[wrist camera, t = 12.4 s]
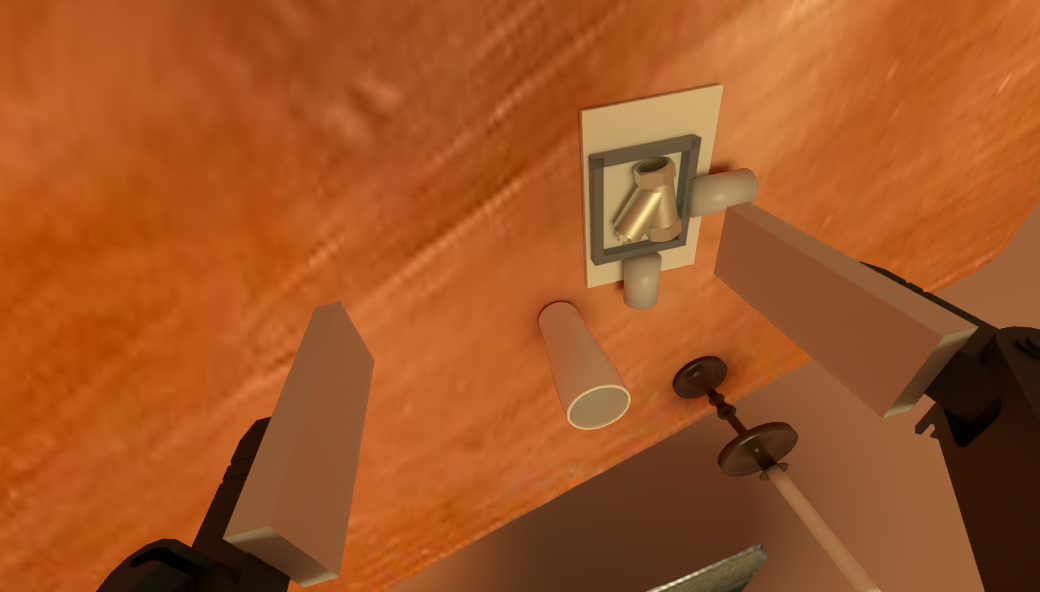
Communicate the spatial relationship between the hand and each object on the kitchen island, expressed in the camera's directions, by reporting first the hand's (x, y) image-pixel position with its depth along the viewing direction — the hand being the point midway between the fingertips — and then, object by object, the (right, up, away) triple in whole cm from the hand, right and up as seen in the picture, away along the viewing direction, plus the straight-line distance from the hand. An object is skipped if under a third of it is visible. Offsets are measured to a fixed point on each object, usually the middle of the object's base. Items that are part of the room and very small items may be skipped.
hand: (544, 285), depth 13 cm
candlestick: (+29, -14, +49) cm, 59 cm away
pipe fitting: (+12, +10, +28) cm, 32 cm away
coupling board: (+14, +10, +29) cm, 34 cm away
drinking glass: (+4, -3, +36) cm, 36 cm away
